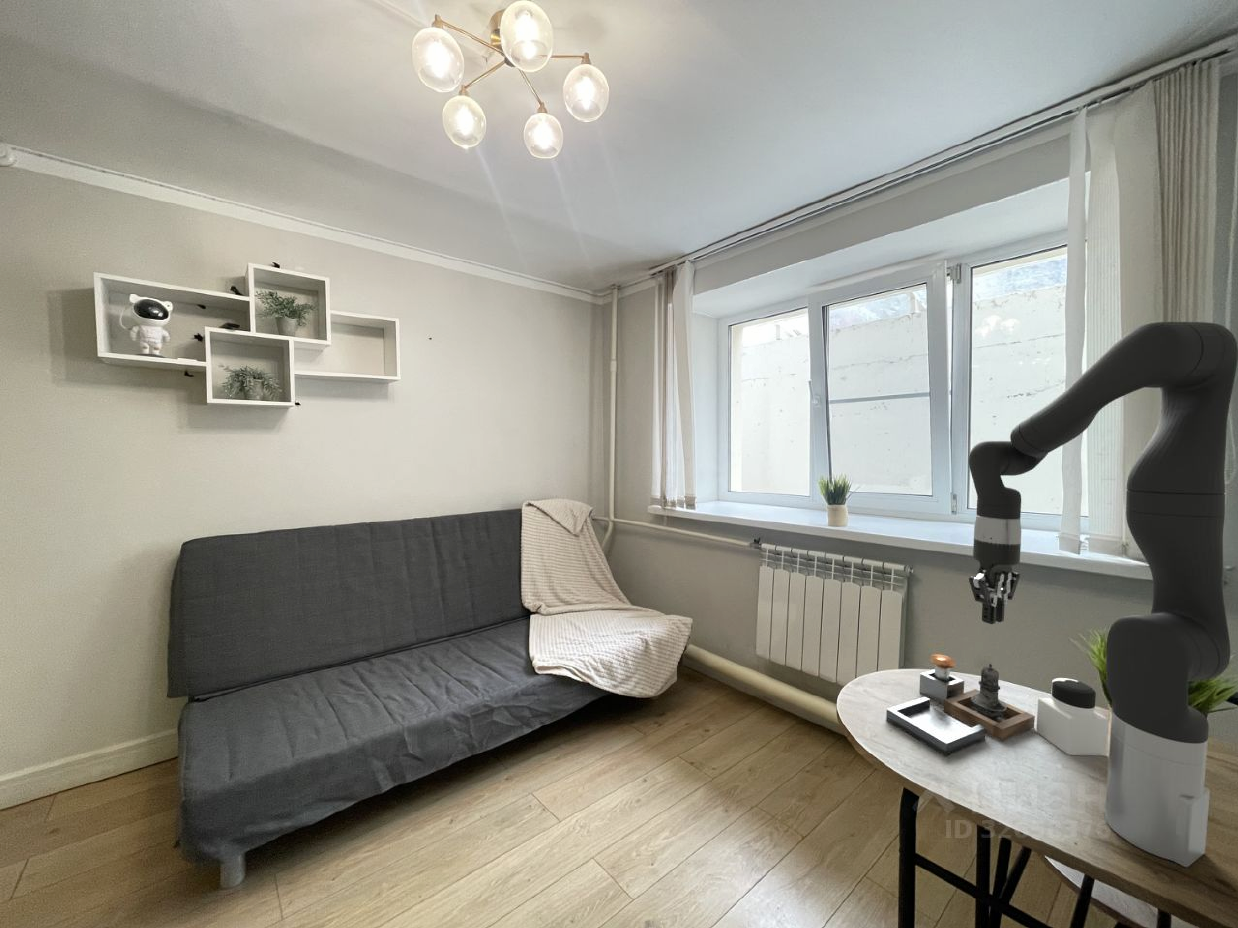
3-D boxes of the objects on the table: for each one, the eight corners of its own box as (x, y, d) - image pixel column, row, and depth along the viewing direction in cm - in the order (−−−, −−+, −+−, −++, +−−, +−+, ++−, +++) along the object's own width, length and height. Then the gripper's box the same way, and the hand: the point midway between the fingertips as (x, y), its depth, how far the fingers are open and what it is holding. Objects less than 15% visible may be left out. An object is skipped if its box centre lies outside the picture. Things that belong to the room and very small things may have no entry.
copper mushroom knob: (957, 691, 106) (959, 661, 106) (945, 695, 104) (946, 664, 104) (937, 681, 110) (939, 652, 110) (925, 685, 108) (926, 656, 108)
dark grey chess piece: (968, 708, 103) (971, 654, 102) (1002, 716, 100) (1005, 661, 99) (971, 722, 98) (974, 665, 97) (1008, 731, 95) (1011, 673, 94)
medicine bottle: (1107, 756, 87) (1111, 693, 87) (1068, 755, 88) (1072, 693, 87) (1071, 732, 95) (1075, 674, 94) (1035, 731, 95) (1038, 673, 94)
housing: (963, 699, 106) (964, 680, 106) (946, 705, 103) (947, 686, 103) (936, 686, 111) (937, 668, 111) (919, 692, 109) (920, 673, 109)
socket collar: (1034, 727, 96) (1034, 715, 96) (1001, 741, 92) (1002, 729, 91) (975, 699, 106) (975, 689, 106) (943, 711, 102) (944, 699, 101)
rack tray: (985, 740, 92) (986, 727, 92) (945, 756, 87) (946, 743, 87) (924, 707, 103) (924, 696, 103) (886, 720, 98) (886, 708, 98)
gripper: (997, 545, 90) (992, 634, 91) (1038, 539, 96) (1033, 623, 97) (956, 537, 97) (952, 620, 98) (996, 532, 103) (992, 610, 104)
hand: (992, 621), depth 97 cm, fingers closed
